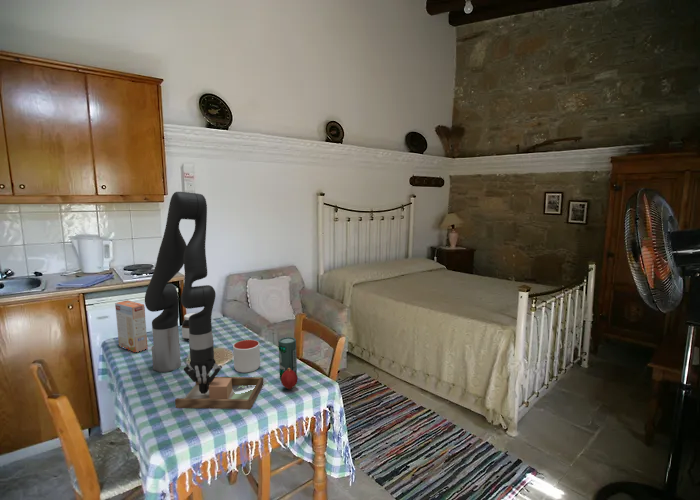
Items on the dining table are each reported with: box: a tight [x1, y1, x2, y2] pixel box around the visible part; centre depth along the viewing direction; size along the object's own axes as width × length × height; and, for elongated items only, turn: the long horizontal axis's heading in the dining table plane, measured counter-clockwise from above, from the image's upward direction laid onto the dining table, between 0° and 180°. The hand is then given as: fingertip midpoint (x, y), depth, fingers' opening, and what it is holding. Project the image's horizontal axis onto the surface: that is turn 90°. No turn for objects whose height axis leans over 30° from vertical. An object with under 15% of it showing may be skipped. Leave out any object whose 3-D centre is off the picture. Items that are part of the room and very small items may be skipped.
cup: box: [232, 339, 261, 374], centre depth 152 cm, size 10×10×10 cm
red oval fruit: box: [280, 368, 299, 391], centre depth 136 cm, size 6×6×8 cm
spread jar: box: [181, 312, 196, 342], centre depth 183 cm, size 12×11×12 cm
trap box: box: [174, 376, 264, 410], centre depth 131 cm, size 24×16×3 cm, turn 88°
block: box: [209, 378, 232, 399], centre depth 132 cm, size 6×6×4 cm
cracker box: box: [114, 299, 149, 353], centre depth 172 cm, size 14×6×21 cm, turn 58°
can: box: [278, 336, 298, 382], centre depth 143 cm, size 6×6×15 cm
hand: (204, 392), depth 132 cm, fingers closed
